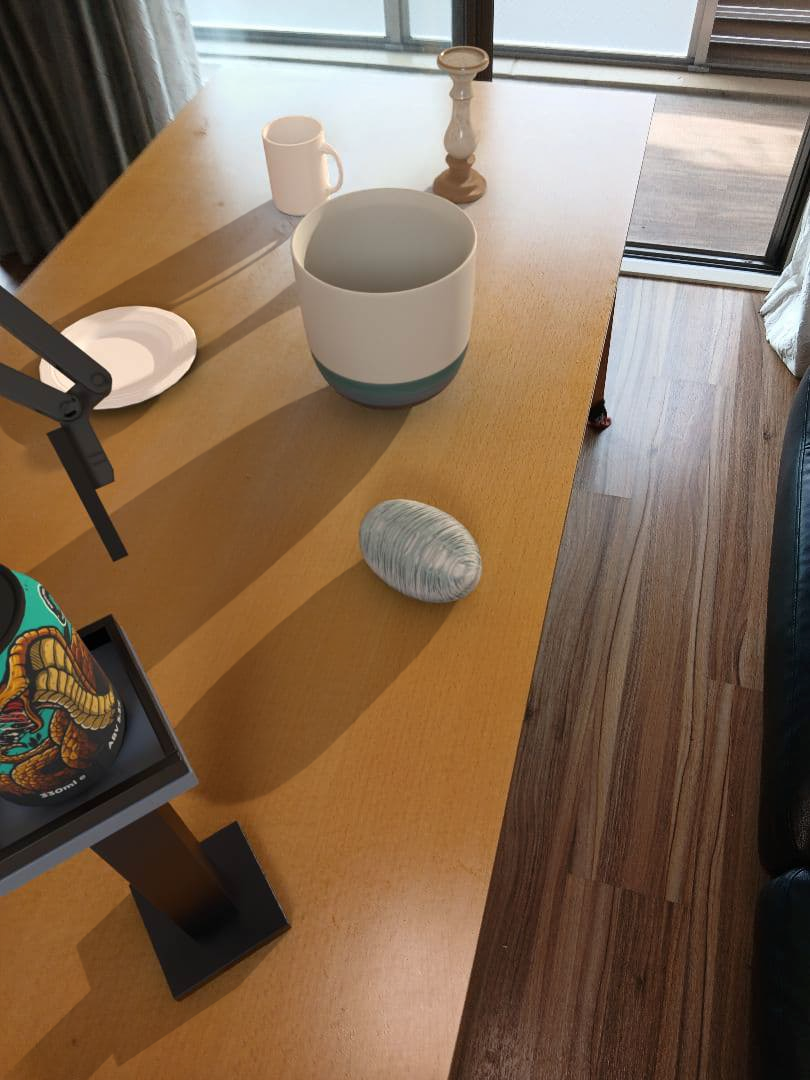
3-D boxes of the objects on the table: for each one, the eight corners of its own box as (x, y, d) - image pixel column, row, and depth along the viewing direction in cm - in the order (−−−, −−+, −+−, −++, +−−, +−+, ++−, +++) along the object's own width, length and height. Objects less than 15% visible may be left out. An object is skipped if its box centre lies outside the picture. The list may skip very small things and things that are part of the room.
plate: (39, 431, 103) (33, 420, 101) (48, 328, 115) (43, 317, 114) (204, 403, 105) (201, 392, 103) (196, 306, 117) (192, 294, 116)
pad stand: (178, 1002, 64) (-28, 880, 35) (133, 889, 69) (-79, 703, 41) (292, 928, 67) (185, 760, 38) (240, 825, 72) (112, 610, 44)
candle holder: (497, 187, 134) (505, 54, 118) (462, 210, 130) (465, 75, 114) (457, 169, 138) (460, 38, 121) (422, 190, 134) (420, 58, 118)
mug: (277, 186, 136) (265, 115, 127) (348, 185, 136) (342, 113, 126) (270, 218, 130) (257, 146, 121) (345, 217, 130) (338, 144, 121)
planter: (284, 413, 103) (254, 266, 86) (358, 320, 114) (344, 173, 97) (431, 461, 97) (429, 314, 80) (494, 358, 108) (504, 209, 91)
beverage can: (113, 813, 39) (6, 701, 29) (-32, 812, 39) (-185, 700, 29) (145, 679, 43) (60, 543, 33) (14, 679, 43) (-107, 543, 33)
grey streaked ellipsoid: (347, 561, 90) (334, 553, 80) (391, 487, 91) (383, 470, 81) (454, 624, 89) (454, 623, 79) (497, 549, 89) (503, 539, 79)
